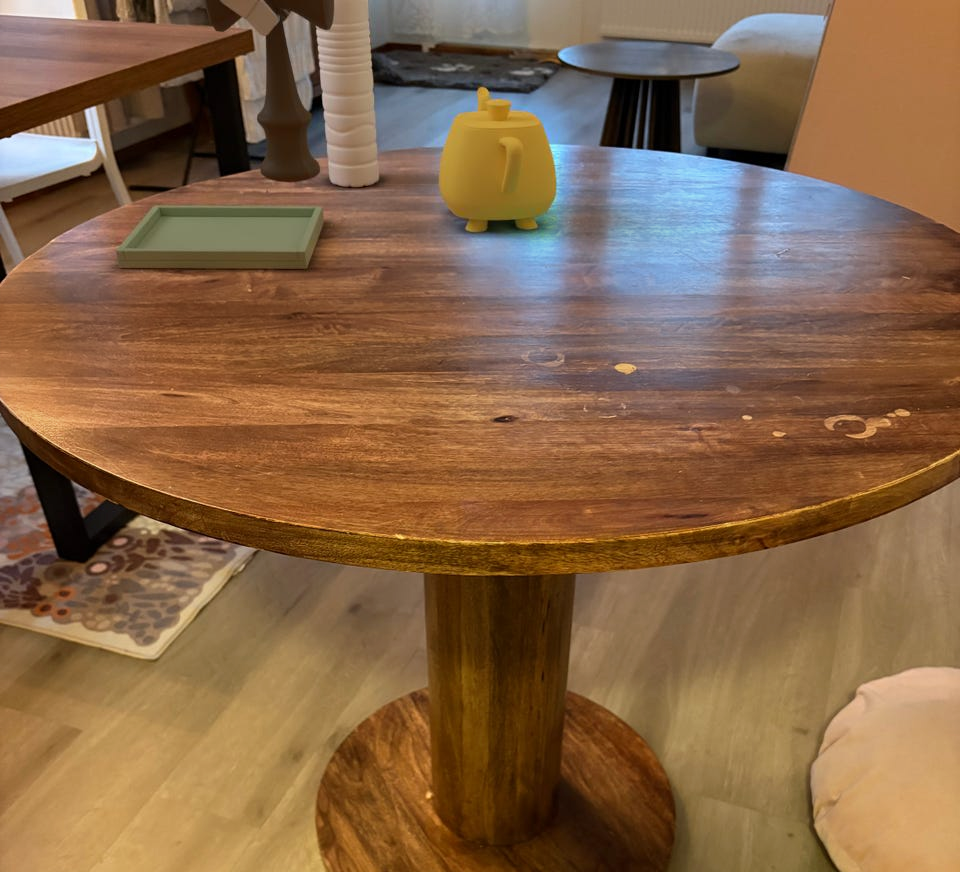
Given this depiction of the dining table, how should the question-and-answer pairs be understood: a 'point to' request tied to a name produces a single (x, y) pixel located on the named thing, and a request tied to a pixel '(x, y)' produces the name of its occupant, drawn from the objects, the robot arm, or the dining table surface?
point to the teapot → (497, 166)
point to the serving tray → (223, 237)
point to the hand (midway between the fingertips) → (282, 21)
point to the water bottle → (348, 95)
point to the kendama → (282, 91)
